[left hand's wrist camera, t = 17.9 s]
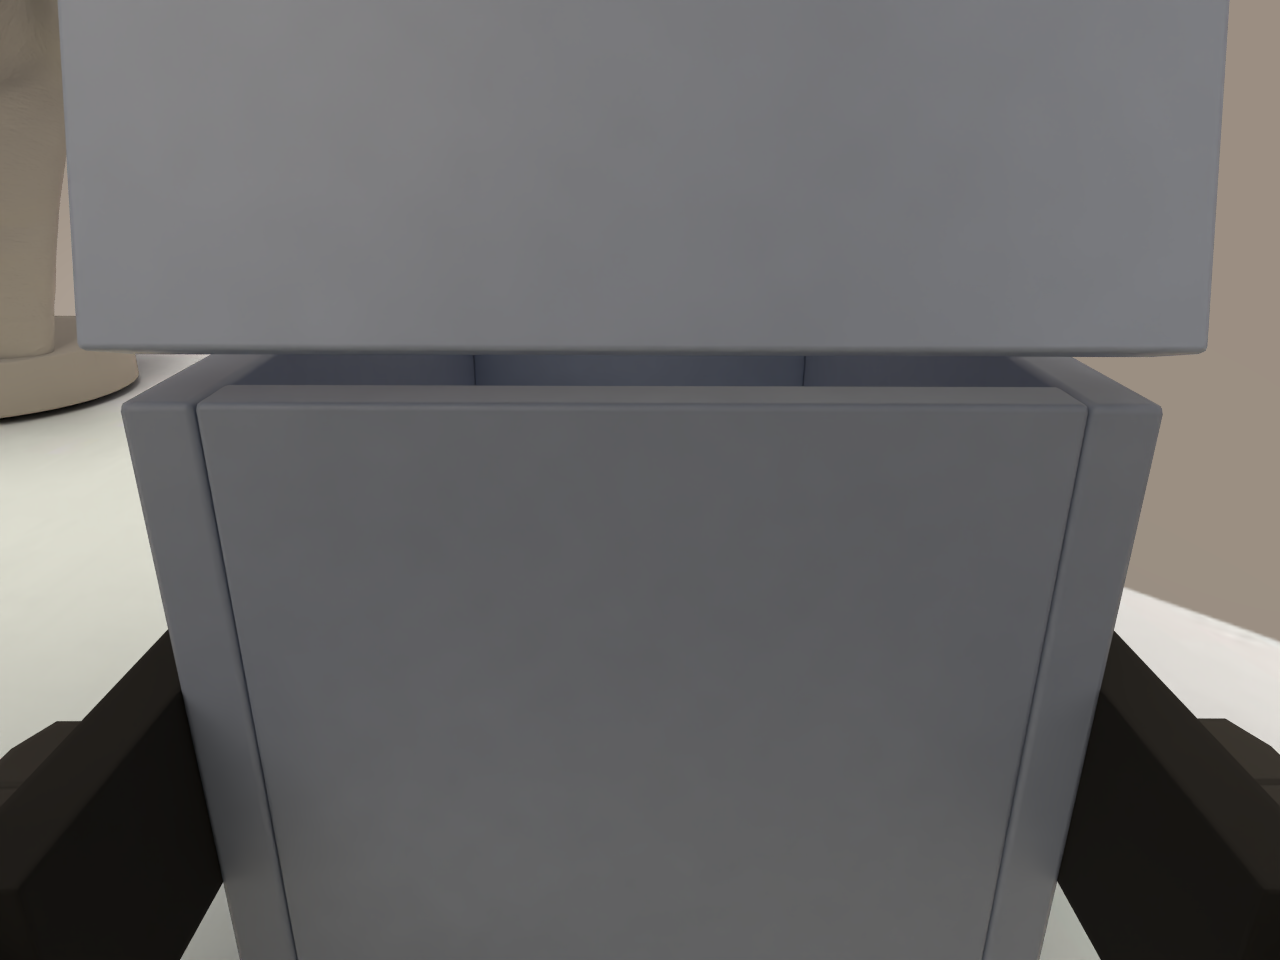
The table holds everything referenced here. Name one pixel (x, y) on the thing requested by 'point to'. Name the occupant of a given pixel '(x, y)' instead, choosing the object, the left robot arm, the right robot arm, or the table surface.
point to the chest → (640, 645)
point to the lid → (643, 176)
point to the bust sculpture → (38, 227)
